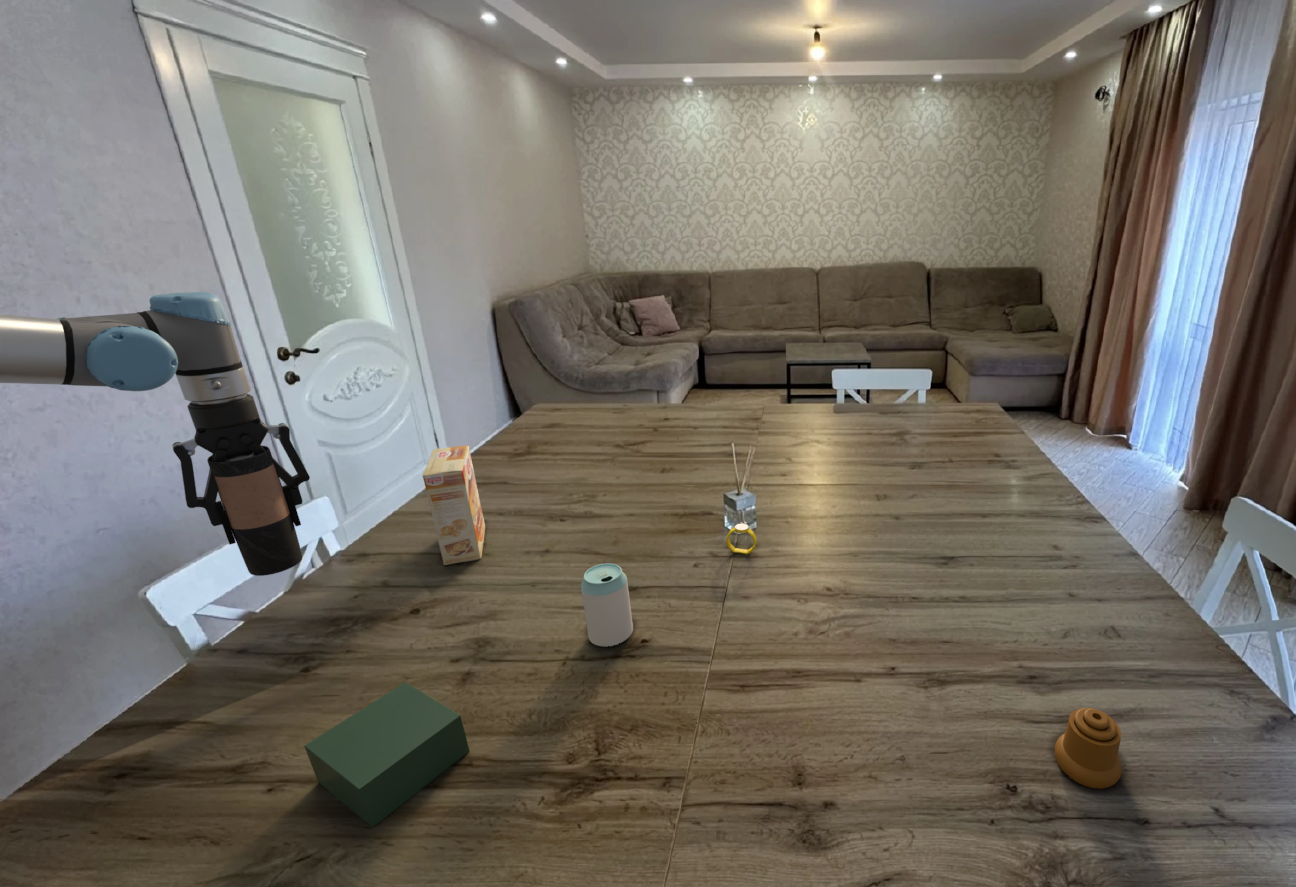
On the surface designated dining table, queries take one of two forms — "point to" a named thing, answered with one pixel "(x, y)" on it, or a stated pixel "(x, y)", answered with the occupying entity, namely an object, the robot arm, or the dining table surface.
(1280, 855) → the dining table surface
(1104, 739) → the ornamental finial
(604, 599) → the can
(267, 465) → the travel mug
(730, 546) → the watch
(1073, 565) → the dining table surface
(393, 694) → the green block
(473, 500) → the coffeecake box
